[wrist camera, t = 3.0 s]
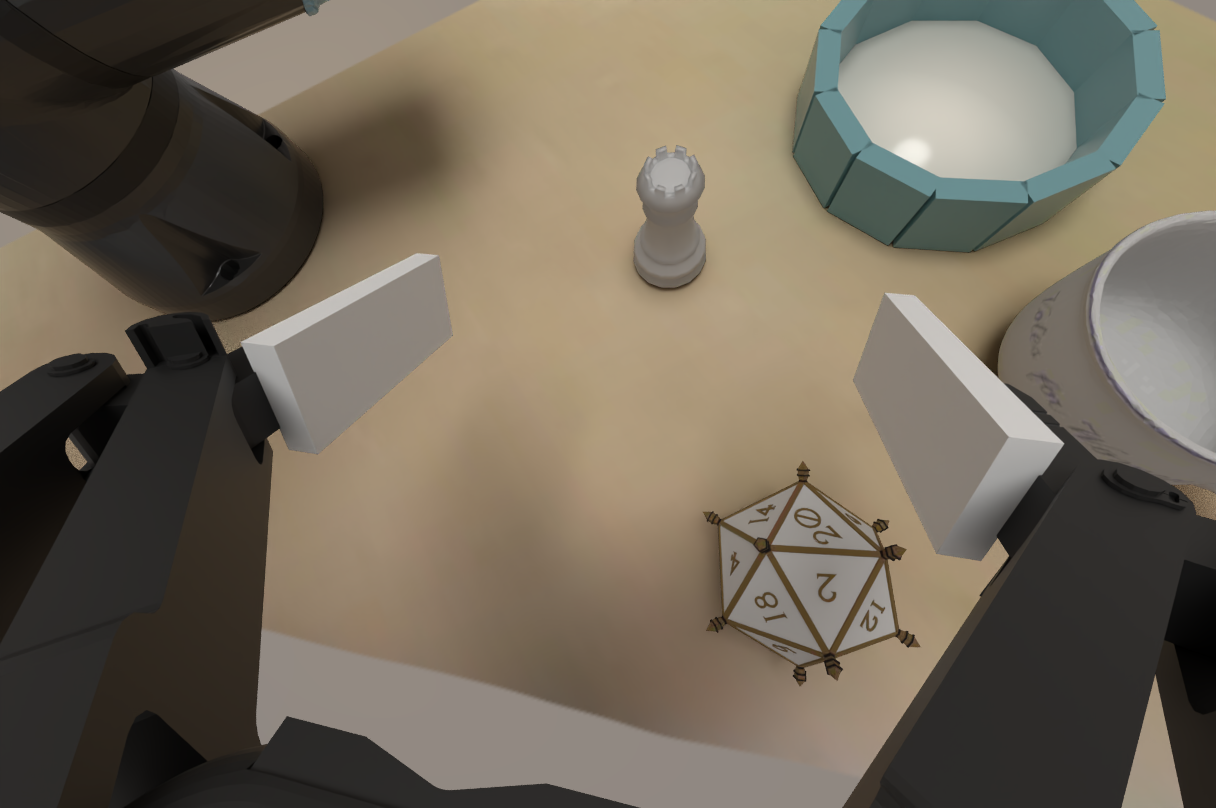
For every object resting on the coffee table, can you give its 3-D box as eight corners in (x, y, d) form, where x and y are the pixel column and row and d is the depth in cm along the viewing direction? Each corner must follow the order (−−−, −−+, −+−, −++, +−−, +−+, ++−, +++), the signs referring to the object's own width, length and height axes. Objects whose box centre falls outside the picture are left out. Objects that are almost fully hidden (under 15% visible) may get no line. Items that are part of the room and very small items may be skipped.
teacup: (930, 328, 26) (1041, 254, 19) (1125, 266, 26) (1323, 163, 18) (1057, 579, 23) (1256, 617, 15) (1283, 515, 22) (1610, 520, 15)
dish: (784, 239, 28) (806, 191, 24) (803, 21, 32) (825, -57, 27) (1090, 260, 26) (1176, 211, 22) (1078, 21, 29) (1150, -65, 25)
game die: (731, 549, 29) (640, 492, 22) (867, 486, 26) (807, 398, 19) (796, 721, 22) (696, 711, 16) (984, 665, 19) (953, 624, 13)
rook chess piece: (698, 220, 29) (710, 117, 22) (712, 284, 28) (729, 201, 21) (628, 233, 30) (615, 138, 22) (639, 297, 29) (629, 221, 21)
